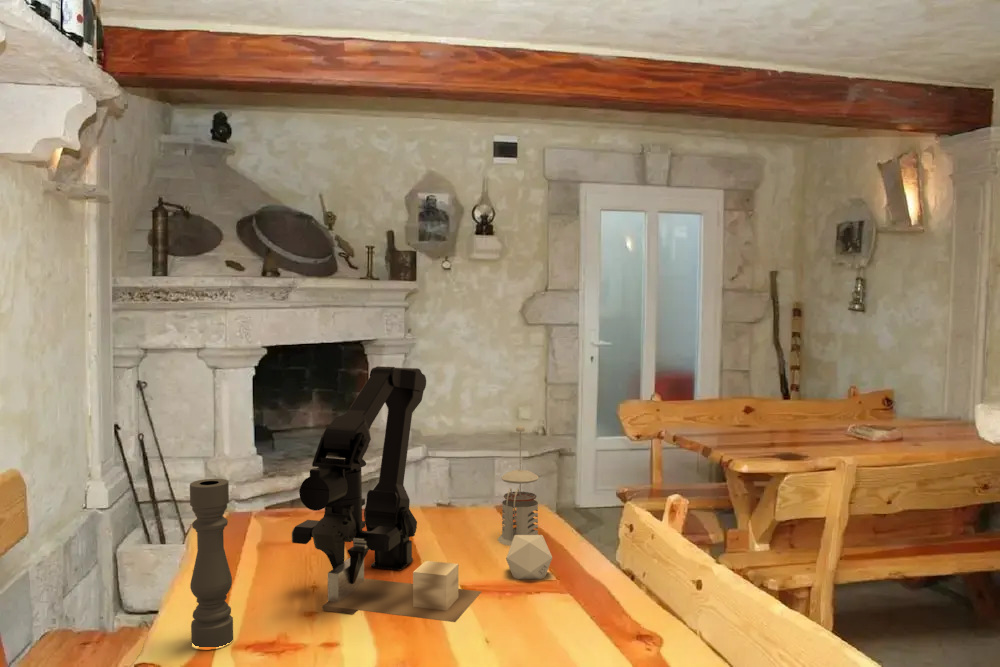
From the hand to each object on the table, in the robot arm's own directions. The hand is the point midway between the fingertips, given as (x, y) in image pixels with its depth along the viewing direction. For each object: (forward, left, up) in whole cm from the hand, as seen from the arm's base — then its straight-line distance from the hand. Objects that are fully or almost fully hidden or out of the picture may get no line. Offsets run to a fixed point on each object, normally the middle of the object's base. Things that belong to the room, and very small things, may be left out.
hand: (346, 582), depth 148 cm
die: (+29, +18, -3) cm, 34 cm away
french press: (+21, +40, -3) cm, 45 cm away
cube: (+17, 0, -2) cm, 17 cm away
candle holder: (-11, -23, -3) cm, 26 cm away
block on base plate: (+11, 0, -2) cm, 11 cm away
